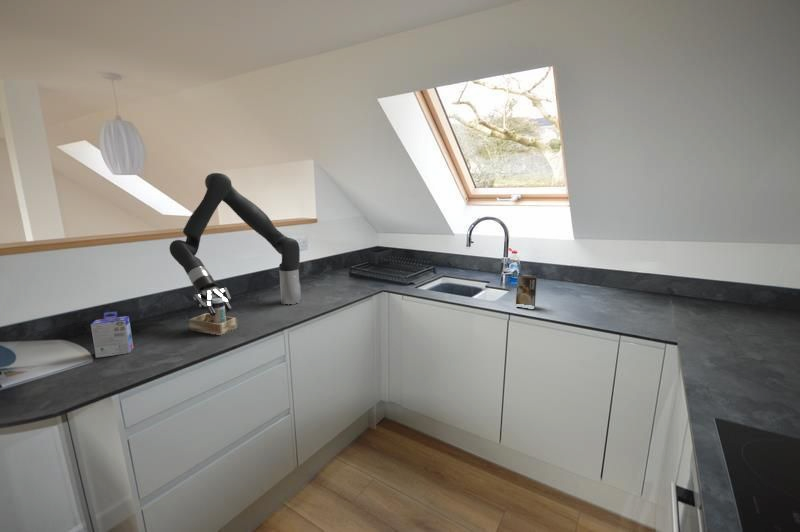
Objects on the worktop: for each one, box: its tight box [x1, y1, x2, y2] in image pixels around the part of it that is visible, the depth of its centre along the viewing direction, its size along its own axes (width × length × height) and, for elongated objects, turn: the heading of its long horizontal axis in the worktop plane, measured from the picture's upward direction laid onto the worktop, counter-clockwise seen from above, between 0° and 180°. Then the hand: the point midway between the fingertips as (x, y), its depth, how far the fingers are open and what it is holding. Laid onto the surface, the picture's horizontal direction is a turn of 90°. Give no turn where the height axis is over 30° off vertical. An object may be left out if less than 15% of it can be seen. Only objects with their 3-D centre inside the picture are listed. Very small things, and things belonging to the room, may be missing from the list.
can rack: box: [188, 312, 238, 336], centre depth 150 cm, size 9×16×4 cm, turn 70°
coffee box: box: [515, 273, 538, 307], centre depth 181 cm, size 9×6×16 cm
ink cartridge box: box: [90, 310, 134, 358], centre depth 127 cm, size 10×6×14 cm, turn 115°
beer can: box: [211, 297, 227, 324], centre depth 148 cm, size 5×5×12 cm
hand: (222, 312), depth 147 cm, fingers open, 6 cm apart
